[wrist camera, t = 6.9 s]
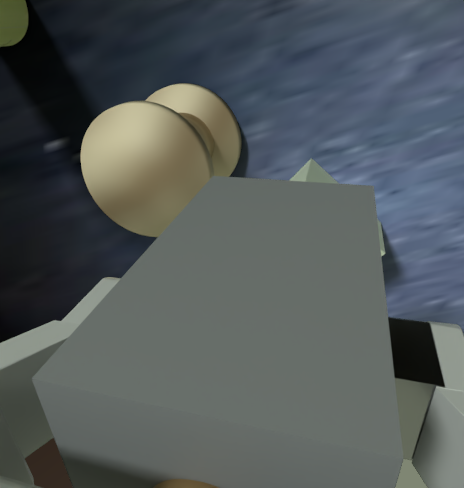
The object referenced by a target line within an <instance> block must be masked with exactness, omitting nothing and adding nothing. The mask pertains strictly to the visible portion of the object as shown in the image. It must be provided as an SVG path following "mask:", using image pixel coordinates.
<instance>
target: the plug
mask: <svg viewBox="0 0 464 488" xmlns="http://www.w3.org/2000/svg"><path fill="white" fill-rule="evenodd" d="M32 382H33V384H34V387H35V389H36V392H37V395H38V397H39V400H40V402H41V405H42V408H43V410H44V413H45V415H46V418H47V421H48V423H49V426H50V428H51V431H52V434H53V436H54V439H55V441H56V444H57V447H58V449H59V452H60V454H61V457H62V460H63V462H64V465H65V467H66V470H67V473H68V475H69V478H70V481H71V483H72V486H73V488H395V486H396V483H397V479H398V476H399V473H400V469H401V466H402V462H403V449H402V440H401V431H400V422H399V413H398V404H397V395H396V386H395V377H394V368H393V358H392V349H391V340H390V331H389V322H388V313H387V304H386V295H385V286H384V277H383V267H382V258H381V249H380V240H379V231H378V222H377V213H376V204H375V195H374V186H366V185H350V184H334V183H319V182H303V181H287V180H271V179H255V178H240V177H224V176H213V177H212V178H211V179H210V180H209V181H208V182H207V183H206V184H205V185H204V187H203V188H202V189H201V190H200V191H199V192H198V193H197V194H196V196H195V197H194V198H193V199H192V200H191V201H190V202H189V203H188V204H187V206H186V207H185V208H184V209H183V210H182V211H181V212H180V213H179V215H178V216H177V217H176V218H175V219H174V220H173V221H172V222H171V223H170V225H169V226H168V227H167V228H166V229H165V230H164V231H163V232H162V233H161V235H160V236H159V237H158V238H157V239H156V240H155V241H154V242H153V244H152V245H151V246H150V247H149V248H148V249H147V250H146V251H145V252H144V254H143V255H142V256H141V257H140V258H139V259H138V260H137V261H136V262H135V264H134V265H133V266H132V267H131V268H130V269H129V270H128V271H127V273H126V274H125V275H124V276H123V277H122V278H121V279H120V280H119V281H118V283H117V284H116V285H115V286H114V287H113V288H112V289H111V290H110V292H109V293H108V294H107V295H106V296H105V297H104V298H103V299H102V300H101V302H100V303H99V304H98V305H97V306H96V307H95V308H94V309H93V310H92V312H91V313H90V314H89V315H88V316H87V317H86V318H85V319H84V321H83V322H82V323H81V324H80V325H79V326H78V327H77V328H76V329H75V331H74V332H73V333H72V334H71V335H70V336H69V337H68V338H67V339H66V341H65V342H64V343H63V344H62V345H61V346H60V347H59V348H58V350H57V351H56V352H55V353H54V354H53V355H52V356H51V357H50V358H49V360H48V361H47V362H46V363H45V364H44V365H43V366H42V367H41V369H40V370H39V371H38V372H37V373H36V374H35V375H34V376H33V377H32Z"/></svg>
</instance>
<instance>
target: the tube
mask: <svg viewBox="0 0 464 488" xmlns="http://www.w3.org/2000/svg"><path fill="white" fill-rule="evenodd" d="M27 27H28V9H27V5H26V2H25V0H0V47H2V46H11V45H14V44H16V43H18V42H19V41H20V40H21V39H22V38H23V37H24V35H25V33H26V30H27Z"/></svg>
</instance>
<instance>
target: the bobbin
mask: <svg viewBox="0 0 464 488" xmlns="http://www.w3.org/2000/svg"><path fill="white" fill-rule="evenodd" d="M240 153H241V133H240V129H239V125H238V122H237V120H236V117H235V115H234V114H233V112H232V110H231V109H230V108H229V106H228V105H227V104H226V102H225V101H224V100H223V99H222V98H221V97H219V96H218V95H217V94H216V93H214V92H212V91H211V90H209V89H207V88H205V87H203V86H199V85H196V84H190V83H180V84H174V85H171V86H167V87H165V88H162V89H160V90H158V91H156V92H155V93H153V94H152V95H151V96H150V97H149V98H148V99H147V100H146V101H132V102H127V103H123V104H120V105H118V106H115V107H112V108H110V109H108V110H106V111H104V112H103V113H102V114H100V115H99V116H98V117H97V118H96V119H95V120H94V121H93V122H92V123H91V125H90V126H89V128H88V129H87V131H86V133H85V136H84V139H83V142H82V147H81V168H82V173H83V177H84V180H85V183H86V186H87V188H88V190H89V192H90V194H91V195H92V197H93V199H94V200H95V202H96V203H97V204H98V206H99V207H100V208H101V209H102V210H103V212H104V213H105V214H106V215H107V216H109V217H110V218H111V219H112V220H113V221H115V222H116V223H117V224H119V225H120V226H122V227H124V228H125V229H127V230H130V231H132V232H134V233H137V234H140V235H145V236H151V237H159V236H160V235H161V233H162V232H163V231H164V230H165V229H166V228H167V227H168V226H169V225H170V223H171V222H172V221H173V220H174V219H175V218H176V217H177V216H178V215H179V213H180V212H181V211H182V210H183V209H184V208H185V207H186V206H187V204H188V203H189V202H190V201H191V200H192V199H193V198H194V197H195V196H196V194H197V193H198V192H199V191H200V190H201V189H202V188H203V187H204V185H205V184H206V183H207V182H208V181H209V180H210V179H211V178H212V177H213V176H224V177H229V176H230V175H231V173H232V172H233V171H234V169H235V167H236V165H237V163H238V161H239V157H240Z"/></svg>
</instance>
